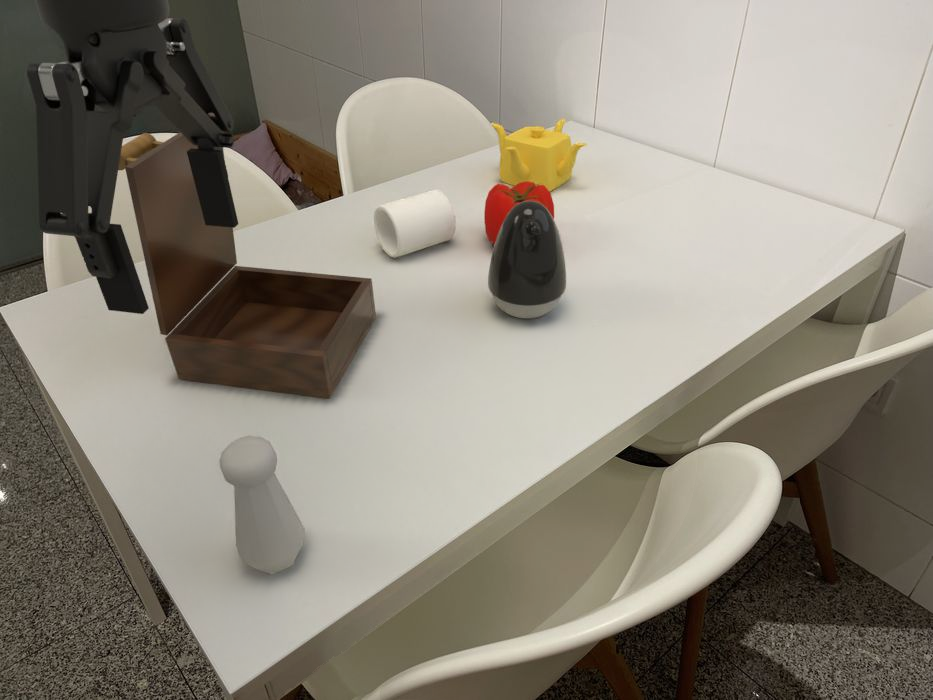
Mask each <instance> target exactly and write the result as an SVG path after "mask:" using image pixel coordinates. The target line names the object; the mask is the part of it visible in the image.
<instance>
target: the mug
mask: <svg viewBox="0 0 933 700" xmlns="http://www.w3.org/2000/svg"><path fill="white" fill-rule="evenodd" d="M373 226H374V230H375V234H376V237H377V240H378V242H379V244H380V246H381V248H382V250H383V251H384V252H385V253H386V254H387V255H388V256H389V257H391V258H394V259H395V258H399V257H402V256H405V255H408V254H411V253H414V252H417V251H420V250H423V249H426V248H429V247H432V246H435V245H438V244H442V243H444V242H447V241H450V240H452V239H453V237H454V236H455V233H456V229H457V220H456V215H455V211H454V208H453V206H452V203H451V201H450V200H449V198H448V197H447V195H446V194H445V193H444V192H443V191H441V190H440V189H432V190H428V191H425V192H422V193H418V194H414V195H411V196H407V197H404V198H401V199H397V200H392V201H390V202H386V203H383V204H380V205H378V206H376V208H375V210H374V212H373Z"/></svg>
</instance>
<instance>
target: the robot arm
mask: <svg viewBox="0 0 933 700" xmlns="http://www.w3.org/2000/svg"><path fill="white" fill-rule="evenodd" d="M34 2H35V6H36V9H37V12H38V15H39V17H40V20H41V22H42V24H43V25H44V26H45V27H46V28H47V29H49V30H51V31H52V32H53V33H55V34H56V35H57V36H58V37H59V39H60V40H61V42H62V47H63V51H64V52H63V53H64V54H63V55H64V59H63V61H60V62H36V61H35V62H33V61H32V62H29V64H27V66H26V75H27V78H28V82H29V86H30V89H31V92H32V96H33V99H34V104H35V118H36V119H35V120H36V152H37V154H36V155H37V185H38V186H37V187H38V188H37V189H38V191H37V192H38V193H37V194H38V224H39V228H40V231H41V232H42V233H44V234H48V235H58V236H68V237H74V238H75V241H76V244H77V246H78V248H79V252H80V255H81V257H82V259H83V261H84V264H85V267H86V269H87V272H88V273H89V275H91V276H92V277H95V278H96V281H97V284H98V287H99V289H100V291H101V294H102V297H103V299H104V302H105V304H106V307H107V310H108V311H113V312H120V313H121V312H122V313H129V314H138V315H144V314H145V313H146V312H147V311H148V310H150V307H149V304H148V302H147V298H146V295H145V293H144V289H143V287H142V283H141V281H140V277H139V275H138V272H137V269H136V266H135V262H134V260H133V256H132V253H131V251H130V248H129V245H128V242H127V239H126V236H125V233H124V230H123V227H122V224H119V223H111V218H112V212H113V205H114V200H115V192H116V186H117V180H118V175H119V170H118V168H119V162H120V155H121V149H122V146H123V142H124V136H125V133H126V132H128V131H129V130H131V128H132V126H133V123H134V118H135V117H137V116H139V115H141V114H142V113H143V112H144V111H145V109H147V107H155V109H156V110H158V111H159V112H160V113H161V114H162V115H163V117H164V118H166V120H168V121H169V123H170V124H172V125H173V126H174V127H175V128H176V130H177V131H179V132H181V133H182V134H183V135H184V136H185V137H186V138H187V139H188V140H189V141H190V142H191V143H192V144H193V145H196V146H198V149H195V148H191V149H190V150H188V151H187V155H188V159H189V163H190V167H191V171H192V175H193V178H194V182H195V186H196V190H197V194H198V198H199V202H200V206H201V209H202V213H203V217H204V221H205V225H209V226H220V227H231V228H233V229H235V228H236V227H237V226H238V225H239V219H238V215H237V211H236V206H235V201H234V199H233V198H234V197H233V194H232V193H233V192H232V189H231V185H230V184H231V183H230V180H229V173H228V169H227V165H226V159H225V154H224V155H223V151H224V150H223V151H222V147H223V148H225V149H226V148H227V149H231V148H233V146H234V144H235V138H234V135H233V133H232V132H233V131H234V128H235V122H234V119H233V117H232V115H231V113H230V111H229V109H228V108H227V105H226V104H225V102H224V100H223V98H222V95H221V94H220V92H219V90H218V89H217V86H216V85H215V83H214V80H213V79H212V77H211V76H210V74H209V72H208V70H207V68H206V66H205V64H204V62H203V60H202V59H201V57H200V55H199V53H198V51H197V50H196V46H195V43H194V39H193V36H192V33H191V28H190V26H189V24H188V21H187V20H186V19H185V18H173V17H171V18H170V17H169V16H170V12H171V11H170V10H171V9H170V7H171V6H170V4H169V0H34ZM96 107H97V108H98V110H96ZM209 113H214V115H215V116H211V115H209ZM89 207H90V208H91V212H89Z"/></svg>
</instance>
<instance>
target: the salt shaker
mask: <svg viewBox="0 0 933 700" xmlns="http://www.w3.org/2000/svg"><path fill="white" fill-rule="evenodd" d="M277 464H278V455H277V452H276V450H275V449H274V446H273V445H272V443H271V441H270V440H268V439H266V438H264V437H263V436H257V435H256V436H255V435H247V436H242V437H239V438H237V439H235V440H233V441H231V442H230V443H229V444H228V445H227V446H226V447H225V448H224V449H223V450H222V451H221V453H220V456H219V468H220V471H221V473H222V476H223V478H224V481H226V482H227V483H228V484H230V485H231V486H233V498H234V499H233V500H234V501H233V502H234V530H235V547H236V551H237V553H238V556H239V558H240V559H241V561H243V562H244V563H246V564H247V565H248V566H249V567H252V568H253V569H254V570H257V571H260V572H263V573H266V574H268V575H271V576H273V575H275V574H278V573H279V572H282V571H284V570H286V569H288V568H291V567H293V566H294V563H295V561H296V558H297V556H298V554H299V553H300V551H301V549H302V547H303V545H304V540H305V534H306V529H305V526H304V524H303V523H302V520H301V519H300V517H299V515H298V514H297V512H296V510H295V508H294V506H293V504H292V501H290V499H289V497H288V495H287V494H286V491H285V490H284V488H283V486H282V484H281V483H280V481H279V479H278V477H277V475H276V473H275V472H276V468H277Z"/></svg>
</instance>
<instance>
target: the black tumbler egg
mask: <svg viewBox="0 0 933 700" xmlns="http://www.w3.org/2000/svg"><path fill="white" fill-rule="evenodd" d="M560 235H561V234H560V232H559V229H558V226H557V224H556V221H555V218H554V219H553V217H552V215H551V214H550V212H549V211H548V209H547V208H546V207H545V206H544V205H543V204H541V203H539V202H536V201H523V202H520V203H518V204H516V205H515V206H514V207H513V208H512V209H511V210H510V211H509V213H508V214H507V216H506V217H505V219H504V221H503V223H502V225H501V228H500V230H499V233H498V236H497V239H496V242H495V245H494V244H493V249H492V253H491V257H490V262H489V268H488V275H487V286H488V290H489V291H490V293H491V296H492V298H493V300H494V302H495V304H496V305H497V307H498V308H499V309H500V310H502V311H503V312H504V313H506V314H508V315H509V316H512V317H515V318H517V319H518V318H519V319H535V318H539V317H542V316H545V315H547V314H548V313H550V312H551V311H552V310H554V309H555V307H556V306H557V305H558V304H559V302H560V300H561V298H562V295H563V294H564V293H565V291H566V288H567V268H566V260H565V259H566V258H565V254H564V248H563V244H562V240H561V236H560Z"/></svg>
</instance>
